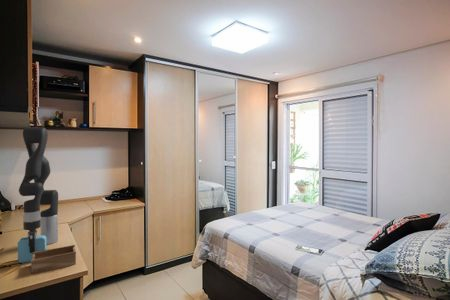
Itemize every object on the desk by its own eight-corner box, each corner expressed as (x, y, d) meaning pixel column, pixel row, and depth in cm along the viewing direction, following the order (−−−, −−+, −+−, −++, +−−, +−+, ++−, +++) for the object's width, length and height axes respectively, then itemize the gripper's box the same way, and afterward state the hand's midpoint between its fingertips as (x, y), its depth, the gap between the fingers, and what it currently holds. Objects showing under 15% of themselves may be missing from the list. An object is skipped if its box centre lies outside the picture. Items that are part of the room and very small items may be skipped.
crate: (32, 264, 137) (32, 252, 137) (74, 256, 147) (74, 244, 147) (31, 273, 127) (30, 260, 127) (76, 264, 137) (76, 252, 137)
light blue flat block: (46, 256, 147) (46, 234, 147) (45, 259, 143) (44, 237, 143) (20, 260, 142) (19, 238, 142) (17, 263, 138) (17, 240, 138)
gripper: (24, 217, 146) (25, 247, 147) (21, 224, 134) (22, 257, 135) (41, 215, 150) (41, 245, 151) (39, 221, 138) (40, 253, 139)
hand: (32, 250), depth 143 cm, fingers closed on light blue flat block, 5 cm apart
